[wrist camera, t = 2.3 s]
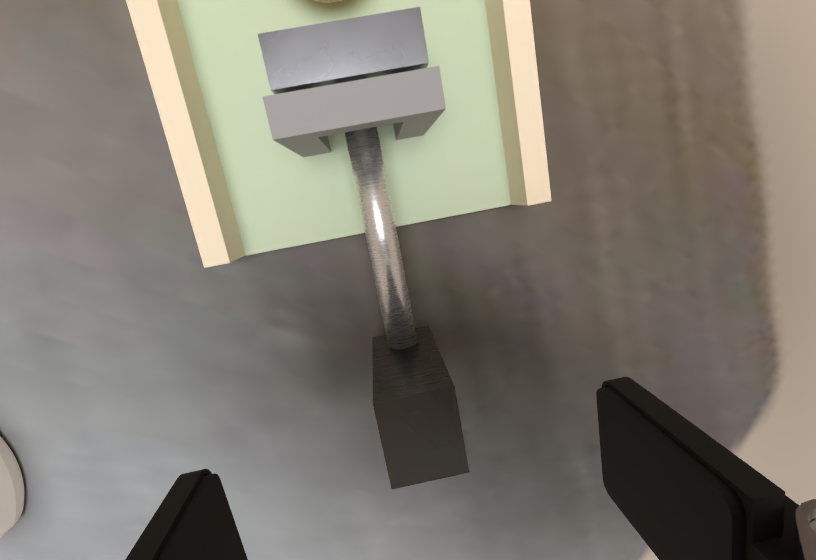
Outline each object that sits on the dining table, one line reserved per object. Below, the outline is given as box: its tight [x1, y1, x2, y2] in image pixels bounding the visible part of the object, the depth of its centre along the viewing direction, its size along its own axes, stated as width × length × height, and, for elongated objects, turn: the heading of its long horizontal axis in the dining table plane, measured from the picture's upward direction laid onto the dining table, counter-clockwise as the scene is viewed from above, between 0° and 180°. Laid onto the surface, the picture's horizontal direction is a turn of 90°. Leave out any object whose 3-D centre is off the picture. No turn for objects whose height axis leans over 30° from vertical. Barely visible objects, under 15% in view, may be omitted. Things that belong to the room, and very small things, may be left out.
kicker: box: [258, 7, 469, 489], centre depth 15 cm, size 14×5×6 cm, turn 10°
